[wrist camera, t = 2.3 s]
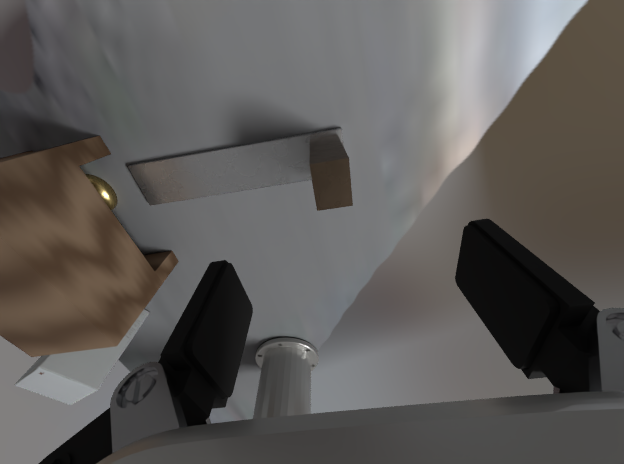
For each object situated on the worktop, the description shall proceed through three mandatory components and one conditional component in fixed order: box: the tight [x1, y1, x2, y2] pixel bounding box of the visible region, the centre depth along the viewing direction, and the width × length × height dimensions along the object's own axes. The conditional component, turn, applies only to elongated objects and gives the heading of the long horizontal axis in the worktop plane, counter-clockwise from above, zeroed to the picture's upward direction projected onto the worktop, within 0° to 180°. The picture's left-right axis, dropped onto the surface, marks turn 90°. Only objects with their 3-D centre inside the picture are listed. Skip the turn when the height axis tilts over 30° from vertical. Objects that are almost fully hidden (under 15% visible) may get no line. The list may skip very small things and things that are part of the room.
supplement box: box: [15, 309, 149, 405], centre depth 36 cm, size 7×7×13 cm
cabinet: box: [0, 136, 178, 357], centre depth 26 cm, size 19×10×14 cm, turn 11°
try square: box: [127, 128, 353, 211], centre depth 24 cm, size 5×24×10 cm, turn 99°
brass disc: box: [85, 174, 117, 210], centre depth 30 cm, size 5×5×2 cm
